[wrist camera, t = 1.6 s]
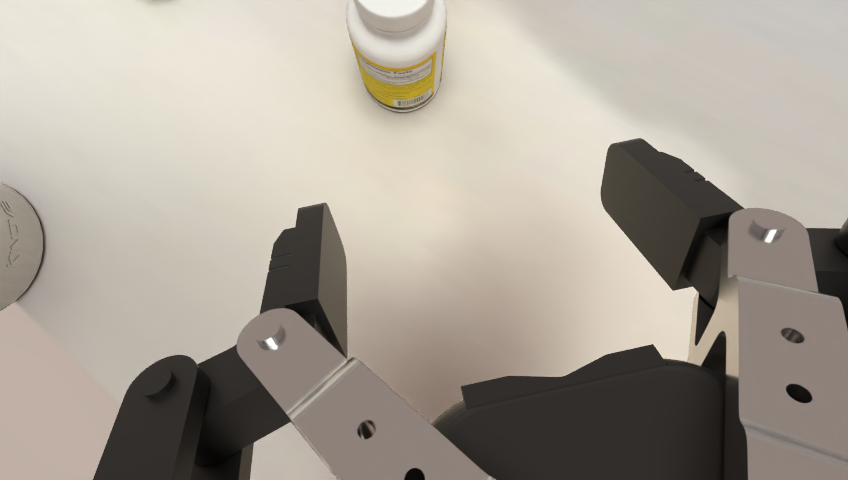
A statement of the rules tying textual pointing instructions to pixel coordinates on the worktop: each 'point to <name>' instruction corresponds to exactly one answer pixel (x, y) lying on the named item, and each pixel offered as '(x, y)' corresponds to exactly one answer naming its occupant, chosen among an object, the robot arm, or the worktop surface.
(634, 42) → the worktop surface
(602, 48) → the worktop surface
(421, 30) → the supplement bottle
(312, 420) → the robot arm
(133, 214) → the worktop surface
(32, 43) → the worktop surface
